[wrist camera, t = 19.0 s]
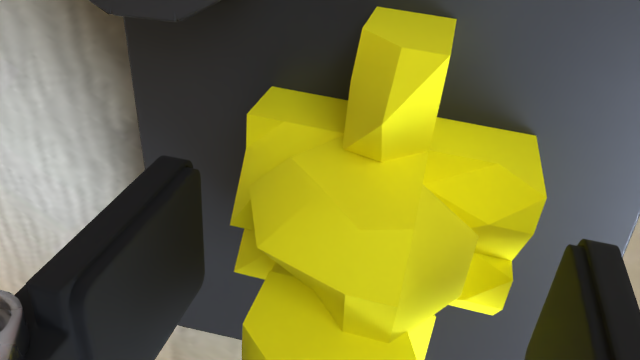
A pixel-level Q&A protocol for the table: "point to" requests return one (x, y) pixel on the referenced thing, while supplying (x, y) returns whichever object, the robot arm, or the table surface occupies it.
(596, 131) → the scale
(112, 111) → the table surface
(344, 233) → the yellow crystal cluster
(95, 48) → the table surface
